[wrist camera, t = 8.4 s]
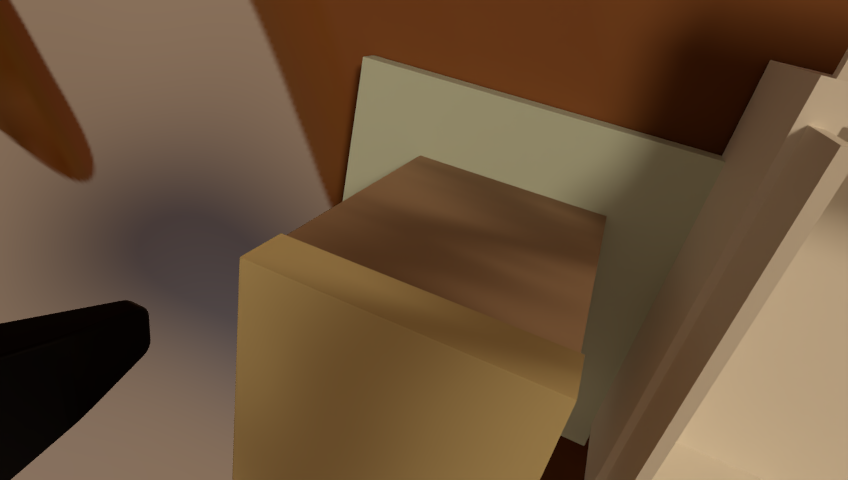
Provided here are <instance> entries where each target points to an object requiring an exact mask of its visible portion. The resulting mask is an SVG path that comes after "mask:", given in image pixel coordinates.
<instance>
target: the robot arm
mask: <svg viewBox="0 0 848 480" xmlns="http://www.w3.org/2000/svg"><path fill="white" fill-rule="evenodd" d="M149 345H150V328H149V315H148V311H147V310H146V309H145V308H144V307H142V306H140V305H138V304H136V303H134V302H132V301H128V300H124V301H118V302H113V303H107V304H102V305H96V306H92V307H86V308H81V309H75V310H70V311H65V312H60V313H55V314H49V315H44V316H39V317H33V318H28V319H23V320H17V321H12V322H7V323H1V324H0V480H11V479H12V478H13V477H14V476H15V475H16V474H18V473H19V472H20V471H21V470H22V469H24V468H25V467H26V466H27V465H28V464H29V463H30V462H32V461H33V460H34V459H35V458H36V457H38V456H39V455H40V454H41V453H42V452H43V451H44V450H46V449H47V448H48V447H49V446H50V445H51V444H53V443H54V442H55V441H56V440H57V439H58V438H60V437H61V436H62V435H63V434H64V433H65V432H66V431H68V430H69V429H70V428H71V427H72V426H73V425H75V424H76V423H77V422H78V421H79V420H80V419H81V418H82V417H83V416H84V415H85V414H86V413H87V412H88V411H89V410H90V409H92V408H93V406H94V405H95V404H96V403H97V402H98V401H99V400H100V399H101V398H102V397H103V396H104V395H105V394H106V393H107V392H108V391H109V390H110V389H111V388H112V387H113V386H114V385H115V384H116V383H117V382H118V381H119V380H120V379H121V378H122V377H123V376H124V375H125V374H126V373H127V372H128V371H129V370H130V369H131V368H132V367H133V366H134V365H135V364H136V362H137V361H139V359H141V358H142V357H143V355H144V354H145V353H146V352H147V350H148V348H149Z"/></svg>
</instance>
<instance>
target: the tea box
mask: <svg viewBox="0 0 848 480" xmlns="http://www.w3.org/2000/svg"><path fill="white" fill-rule="evenodd" d="M606 218H607V216H604V215H601V214H598V213H595V212H592V211H589V210H586V209H583V208H580V207H577V206H574V205H571V204H567V203H564V202H561V201H558V200H555V199H552V198H549V197H546V196H543V195H540V194H537V193H534V192H531V191H528V190H525V189H522V188H519V187H515V186H512V185H509V184H506V183H503V182H500V181H497V180H494V179H491V178H488V177H485V176H482V175H479V174H476V173H473V172H470V171H467V170H463V169H460V168H457V167H454V166H451V165H448V164H445V163H442V162H439V161H436V160H433V159H430V158H427V157H424V156H421V155H420V156H418V157H416V158H415V159H413V160H411V161H410V162H408V163H406V164H405V165H403V166H401V167H400V168H398V169H396V170H395V171H393V172H391V173H390V174H388V175H386V176H385V177H383V178H381V179H380V180H378V181H376V182H374V183H373V184H371V185H369V186H368V187H366V188H364V189H363V190H361V191H359V192H358V193H356V194H354V195H353V196H351V197H349V198H348V199H346V200H344V201H343V202H341V203H339V204H338V205H336V206H334V207H333V208H331V209H329V210H328V211H326V212H324V213H323V214H321V215H319V216H318V217H316V218H314V219H313V220H311V221H309V222H308V223H306V224H304V225H302V226H301V227H299V228H298V229H296V230H294V231H292V232H291V233H290V234H287V235H284V234H282V233H281V234H279V235H277V236H276V237H274V238H272V239H271V240H269V241H267V242H265V243H263V244H262V245H260V246H258V247H257V248H255V249H253V250H251V251H250V252H248V253H246V254H245V255H243V256H241V257H240V266H239V267H240V268H239V269H240V270H239V298H238V300H239V301H238V327H237V358H236V389H235V390H236V391H235V418H234V419H235V420H234V449H233V450H234V451H233V480H540V478H541V476H542V474H543V472H544V470H545V468H546V466H547V463H548V461H549V459H550V457H551V455H552V453H553V451H554V448H555V446H556V444H557V442H558V440H559V438H560V436H561V433H562V431H563V429H564V427H565V425H566V423H567V421H568V418H569V416H570V414H571V412H572V410H573V408H574V406H575V403H576V401H577V397H578V392H579V386H580V380H581V374H582V369H583V363H584V357H585V355H584V354H582V353H581V349H582V344H583V339H584V334H585V328H586V323H587V318H588V313H589V307H590V302H591V297H592V291H593V286H594V281H595V276H596V270H597V265H598V260H599V254H600V249H601V244H602V239H603V233H604V228H605V223H606Z"/></svg>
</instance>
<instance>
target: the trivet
mask: <svg viewBox="0 0 848 480" xmlns="http://www.w3.org/2000/svg"><path fill="white" fill-rule="evenodd" d="M420 155H421V156H424V157H427V158H430V159H433V160H436V161H439V162H442V163H445V164H448V165H451V166H454V167H457V168H460V169H463V170H467V171H470V172H473V173H476V174H479V175H482V176H485V177H488V178H491V179H494V180H497V181H500V182H503V183H506V184H509V185H512V186H515V187H519V188H522V189H525V190H528V191H531V192H534V193H537V194H540V195H543V196H546V197H549V198H552V199H555V200H558V201H561V202H564V203H567V204H571V205H574V206H577V207H580V208H583V209H586V210H589V211H592V212H595V213H598V214H601V215H604V216H607V218H606V223H605V228H604V233H603V239H602V244H601V249H600V254H599V260H598V265H597V270H596V276H595V281H594V286H593V291H592V297H591V302H590V307H589V313H588V318H587V323H586V328H585V334H584V339H583V344H582V349H581V353H582V354H584V355H585V357H584V363H583V369H582V374H581V380H580V386H579V392H578V397H577V401H576V403H575V406H574V408H573V410H572V412H571V414H570V416H569V418H568V421H567V423H566V425H565V427H564V429H563V431H562V433H561V436H563V437H565V438H567V439H569V440H572V441H574V442H576V443H578V444H581V445H583V446H584V445H585V443H586V441H587V439H588V437H589V435H590V431H591V423H592V422H593V420H594V418H595V416H596V414H597V412H598V410H599V408H600V406H601V404H602V402H603V400H604V398H605V396H606V394H607V392H608V390H609V388H610V386H611V384H612V383H613V381H614V379H615V377H616V375H617V373H618V371H619V369H620V367H621V365H622V363H623V361H624V359H625V357H626V355H627V353H628V351H629V349H630V347H631V345H632V344H633V342H634V340H635V338H636V336H637V334H638V332H639V330H640V328H641V326H642V324H643V322H644V320H645V318H646V316H647V314H648V312H649V310H650V308H651V306H652V305H653V303H654V301H655V299H656V297H657V295H658V293H659V291H660V289H661V287H662V285H663V283H664V281H665V279H666V277H667V275H668V273H669V271H670V269H671V267H672V266H673V264H674V262H675V260H676V258H677V256H678V254H679V252H680V250H681V248H682V246H683V244H684V242H685V240H686V238H687V236H688V234H689V232H690V230H691V228H692V227H693V225H694V223H695V221H696V219H697V217H698V215H699V213H700V211H701V209H702V207H703V205H704V203H705V201H706V199H707V197H708V195H709V193H710V191H711V189H712V188H713V186H714V184H715V182H716V180H717V178H718V176H719V174H720V172H721V170H722V168H723V166H724V164H725V160H724V159H723V157H722V156H721V155H717V154H714V153H711V152H707V151H704V150H700V149H697V148H693V147H690V146H686V145H683V144H679V143H676V142H672V141H669V140H665V139H662V138H659V137H655V136H652V135H648V134H645V133H641V132H638V131H634V130H631V129H627V128H624V127H620V126H617V125H613V124H610V123H607V122H603V121H600V120H596V119H593V118H589V117H586V116H582V115H579V114H575V113H572V112H568V111H565V110H562V109H558V108H555V107H551V106H548V105H544V104H541V103H537V102H534V101H530V100H527V99H523V98H520V97H516V96H513V95H510V94H506V93H503V92H499V91H496V90H492V89H489V88H485V87H482V86H478V85H475V84H471V83H468V82H464V81H461V80H458V79H454V78H451V77H447V76H444V75H440V74H437V73H433V72H430V71H426V70H423V69H419V68H416V67H412V66H409V65H406V64H402V63H399V62H395V61H392V60H388V59H385V58H381V57H378V56H374V55H373V56H364V57H363V62H362V69H361V76H360V83H359V90H358V97H357V104H356V111H355V118H354V125H353V132H352V139H351V146H350V153H349V160H348V167H347V174H346V181H345V188H344V195H343V201H344V200H346V199H348V198H349V197H351V196H353V195H354V194H356V193H358V192H359V191H361V190H363V189H364V188H366V187H368V186H369V185H371V184H373V183H374V182H376V181H378V180H380V179H381V178H383V177H385V176H386V175H388V174H390V173H391V172H393V171H395V170H396V169H398V168H400V167H401V166H403V165H405V164H406V163H408V162H410V161H411V160H413V159H415V158H416V157H418V156H420Z"/></svg>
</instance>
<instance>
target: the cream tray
mask: <svg viewBox="0 0 848 480" xmlns="http://www.w3.org/2000/svg"><path fill="white" fill-rule="evenodd" d="M722 157H723V159H724V160H725V164H724V166H723V168H722V170H721V172H720V174H719V176H718V178H717V180H716V182H715V184H714V186H713V188H712V189H711V191H710V193H709V195H708V197H707V199H706V201H705V203H704V205H703V207H702V209H701V211H700V213H699V215H698V217H697V219H696V221H695V223H694V225H693V227H692V228H691V230H690V232H689V234H688V236H687V238H686V240H685V242H684V244H683V246H682V248H681V250H680V252H679V254H678V256H677V258H676V260H675V262H674V264H673V266H672V267H671V269H670V271H669V273H668V275H667V277H666V279H665V281H664V283H663V285H662V287H661V289H660V291H659V293H658V295H657V297H656V299H655V301H654V303H653V305H652V306H651V308H650V310H649V312H648V314H647V316H646V318H645V320H644V322H643V324H642V326H641V328H640V330H639V332H638V334H637V336H636V338H635V340H634V342H633V344H632V345H631V347H630V349H629V351H628V353H627V355H626V357H625V359H624V361H623V363H622V365H621V367H620V369H619V371H618V373H617V375H616V377H615V379H614V381H613V383H612V384H611V386H610V388H609V390H608V392H607V394H606V396H605V398H604V400H603V402H602V404H601V406H600V408H599V410H598V412H597V414H596V416H595V418H594V420H593V422H592V423H591V431H590V439H589V446H588V454H587V462H586V470H585V477H584V480H848V49H847V50H846V52H845V54H844V56H843V58H842V59H841V61H840V63H839V65H838V66H837V68H836V70H835V72H834V73H833V75H831V74H827V73H823V72H819V71H814V70H810V69H806V68H802V67H798V66H794V65H789V64H785V63H781V62H777V61H773V60H770V62H769V64H768V66H767V68H766V69H765V71H764V73H763V75H762V77H761V79H760V81H759V83H758V85H757V87H756V89H755V91H754V93H753V95H752V97H751V99H750V101H749V103H748V105H747V107H746V109H745V111H744V113H743V115H742V117H741V119H740V121H739V123H738V125H737V127H736V129H735V131H734V133H733V135H732V137H731V139H730V141H729V143H728V145H727V147H726V149H725V151H724V153H723V154H722Z"/></svg>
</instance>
